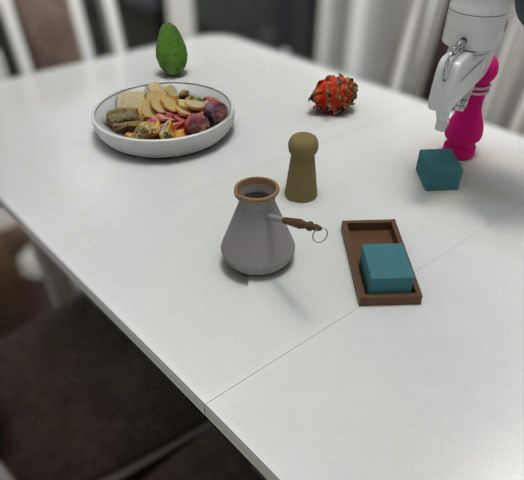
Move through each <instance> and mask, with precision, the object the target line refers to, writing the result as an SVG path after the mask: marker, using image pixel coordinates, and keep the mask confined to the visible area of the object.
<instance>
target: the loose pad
mask: <svg viewBox="0 0 524 480" xmlns="http://www.w3.org/2000/svg"><path fill="white" fill-rule="evenodd" d="M417 156H418V157H417V161H416V165H415V171H416V173H417V175H418V177H419V179H420V181H421V184H422V186H423V188H424V190H425V191H454V190H455V191H456V190H459V188H460V187H459V186H460V183H461V180H462V176H463V173H464V168H463V166H462V165H461V163H460V160H458V159H457V158H456V156H455V154H454V153H453V151H452V149H443V148H429V149H427V148H424V149H422V148H421V149H419V152H418V155H417Z"/></svg>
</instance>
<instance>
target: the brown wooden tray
mask: <svg viewBox="0 0 524 480" xmlns="http://www.w3.org/2000/svg"><path fill="white" fill-rule="evenodd" d="M340 231H341V235H342V241H343V243H344V248H345V252H346V256H347V260H348V266H349V269H350V273H351V277H352V282H353V286H354V287H353V288H354V291H355V295H356V299H357V303H358V304H357V305H358V307H378V306H406V305H407V306H413V305H421V304H422V300H423V292H422V290H421V287H420V284H419V282H418V279H417V275H416V273H415V270H414V267H413V265H412V262H411V260H410V257H409V254H408V252H407V248H406V246H405V243H404V240H403V237H402V235H401V233H400V229H399V227H398V223H397V222H396V219H395V218H391V219H390V218H389V219H388V218H387V219H358V220H357V219H355V220H354V219H353V220H352V219H351V220H341V224H340ZM393 243H402V244H403V246H404V249H405V252H406V255H407V258H408V260H409V263H410V266H411V269H412V271H413V274H414V277H415V278H414V282H413V286H412V290H411V293H393V294H366V292H365V288H364V284H363V280H362V276H361V272H360V268H359V262H360V255H361V249H362V244H393Z"/></svg>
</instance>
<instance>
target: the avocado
mask: <svg viewBox="0 0 524 480" xmlns="http://www.w3.org/2000/svg"><path fill="white" fill-rule="evenodd" d="M187 49H188V48H187V45H186V43H185V40H184V38H183V36H182V34H181V31H180V30H179V29H178V27H177V26H176V25H175V24H173V23H172V22H169V21H166V22H164V23H163V24H161V26H160V28H159V30H158V34H157V39H156V44H155V59H156V61H157V63H158V66H159V68H161V70H162V71H163V72H164V73H165V74H166V75H169V76H178V75H180V74H181V73H182V72H183V71H184V69H185V68H186V67H187V64H188V58H189V57H188V50H187Z"/></svg>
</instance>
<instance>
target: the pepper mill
mask: <svg viewBox="0 0 524 480" xmlns="http://www.w3.org/2000/svg"><path fill="white" fill-rule="evenodd" d="M499 69H500V63H499V60H498V58H497V56H495V55H494V56H493V59H492V61H491V64H490V66H489V68H488V71H487V72H486V74H485V76H484V77H483V78H482V79H481V80H480V81H479V82H478V83H477V84H476V85H475V87H474V89H473V91H472V93H471V96H470V98H469V100H468V104H467V107H466V108H465V109H464V110H463V111H462V112H460V111H456V110H454V112H453V114H452V115H451V116H450V117H449V119H450V121H449V124H448V128H447V129H446V130H445V131H444V132H443V133H444V137H445V139H446V140H444V142H443V145H442V149H452V151H453V153H454V154H455V156H456V158H457V159H458V161H467V160H470V159H472V158H473V157H474V156H475V153H476V149H477V145H476V144H477V143H478V142H480V140H482V138H483V135H484V129H485V127H484V126H485V125H484V118H483V104H484V100H485V98H486V95H487V94H488V95H489V93H490V89H491V88H492V84H491V82H492V81H494V79H496V77H497V76H498V73H499Z"/></svg>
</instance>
